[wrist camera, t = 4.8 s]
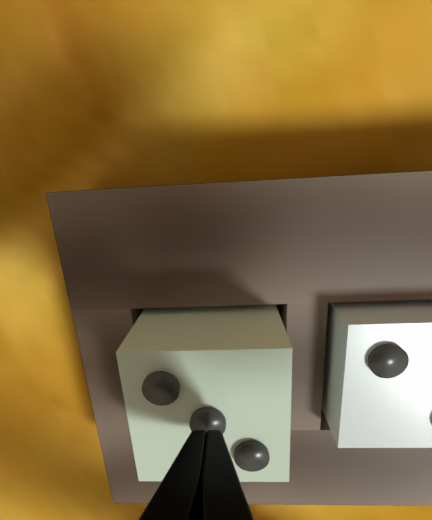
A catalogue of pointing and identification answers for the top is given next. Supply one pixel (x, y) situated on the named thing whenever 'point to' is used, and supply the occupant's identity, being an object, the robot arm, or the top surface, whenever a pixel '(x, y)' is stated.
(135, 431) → the tile three
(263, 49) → the top surface
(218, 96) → the top surface
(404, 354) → the tile two
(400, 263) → the grey tray with tiles
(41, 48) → the top surface
